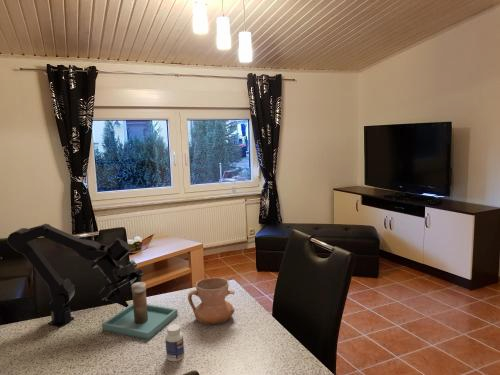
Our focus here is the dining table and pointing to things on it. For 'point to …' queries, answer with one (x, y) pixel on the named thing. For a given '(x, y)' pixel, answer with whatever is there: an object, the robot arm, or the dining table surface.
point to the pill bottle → (174, 343)
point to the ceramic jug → (212, 301)
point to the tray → (147, 330)
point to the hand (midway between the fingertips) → (136, 301)
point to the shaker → (139, 302)
